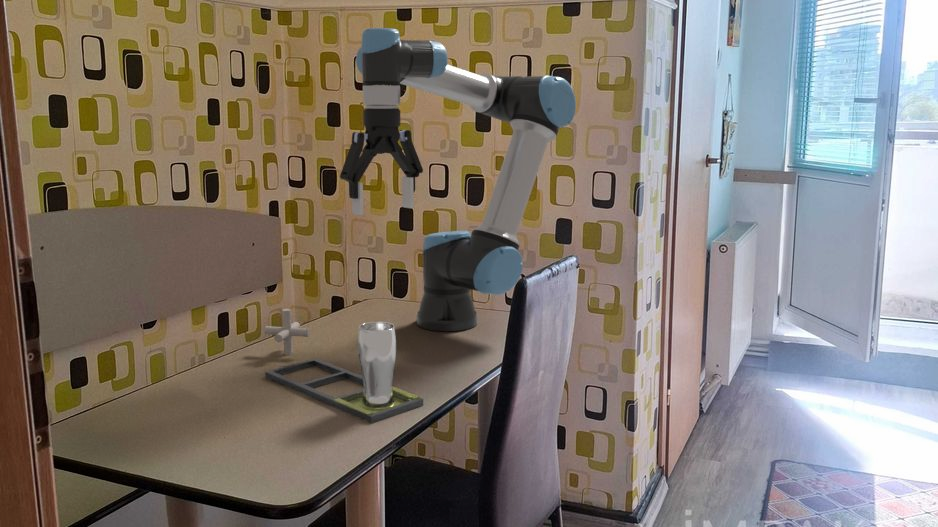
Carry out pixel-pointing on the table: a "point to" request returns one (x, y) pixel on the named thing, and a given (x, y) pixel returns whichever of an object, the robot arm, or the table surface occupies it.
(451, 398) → the table surface
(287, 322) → the pipe connector
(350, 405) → the grey flat frame
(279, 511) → the table surface
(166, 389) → the table surface
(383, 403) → the beer glass
